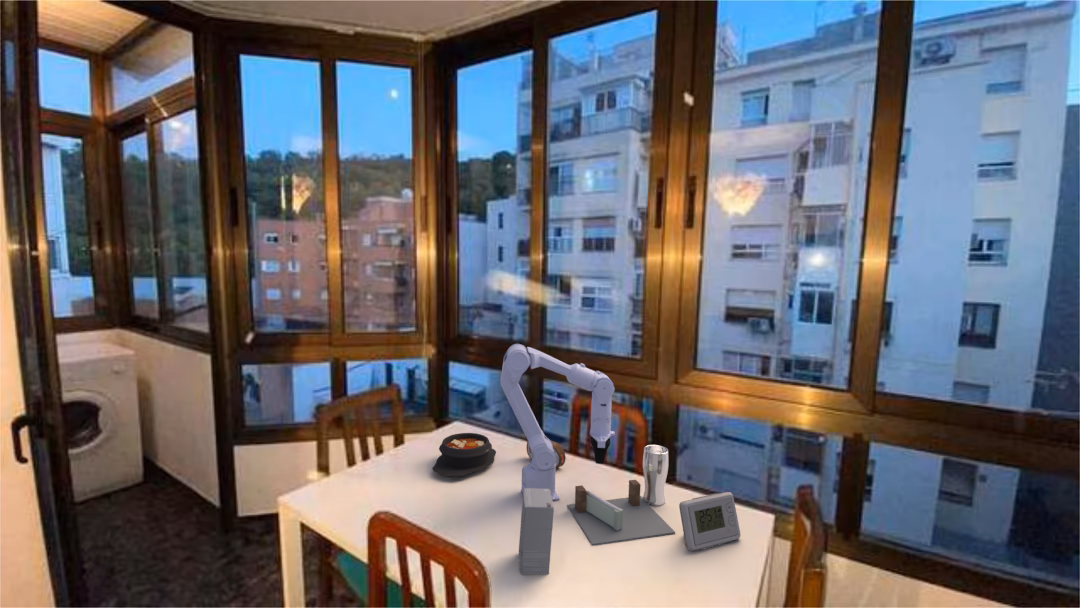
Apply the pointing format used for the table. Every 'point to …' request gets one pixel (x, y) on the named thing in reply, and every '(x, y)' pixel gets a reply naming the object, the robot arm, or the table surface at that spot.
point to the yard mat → (635, 523)
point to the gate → (604, 510)
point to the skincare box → (536, 531)
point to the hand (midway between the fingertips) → (599, 462)
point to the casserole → (464, 454)
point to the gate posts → (632, 497)
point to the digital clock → (709, 521)
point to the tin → (557, 450)
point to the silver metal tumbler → (655, 473)
